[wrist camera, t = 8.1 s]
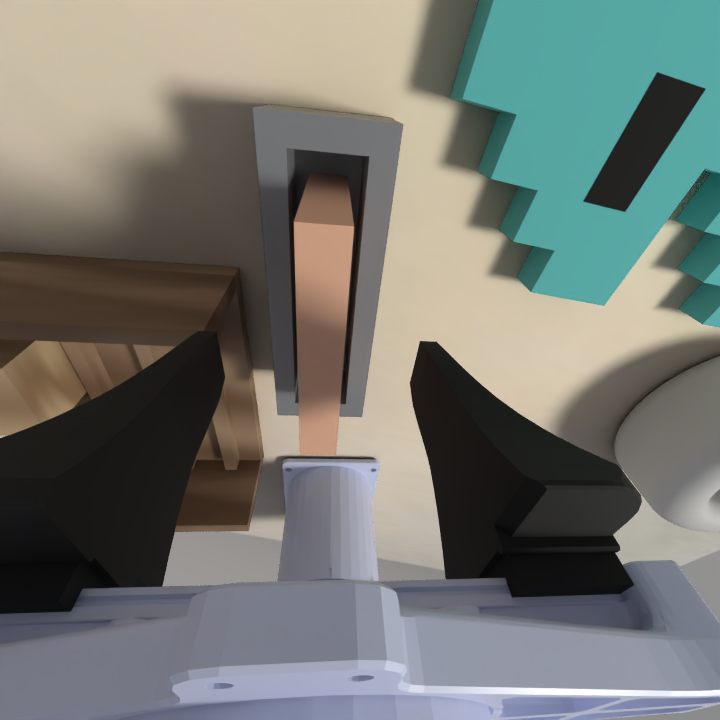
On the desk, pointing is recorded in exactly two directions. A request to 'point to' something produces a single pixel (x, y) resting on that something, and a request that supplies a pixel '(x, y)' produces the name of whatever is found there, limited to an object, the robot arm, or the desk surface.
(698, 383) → the donut shape
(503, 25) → the alien figure
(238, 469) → the rack
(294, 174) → the holder
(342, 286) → the salmon rectangular block
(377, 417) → the desk surface
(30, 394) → the offcut
